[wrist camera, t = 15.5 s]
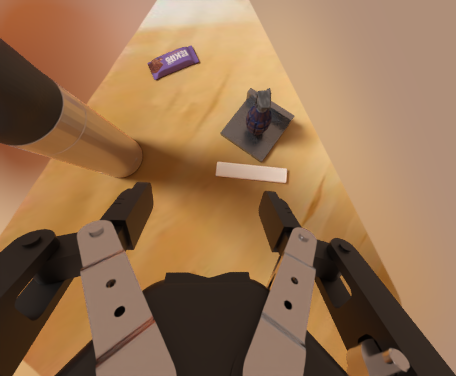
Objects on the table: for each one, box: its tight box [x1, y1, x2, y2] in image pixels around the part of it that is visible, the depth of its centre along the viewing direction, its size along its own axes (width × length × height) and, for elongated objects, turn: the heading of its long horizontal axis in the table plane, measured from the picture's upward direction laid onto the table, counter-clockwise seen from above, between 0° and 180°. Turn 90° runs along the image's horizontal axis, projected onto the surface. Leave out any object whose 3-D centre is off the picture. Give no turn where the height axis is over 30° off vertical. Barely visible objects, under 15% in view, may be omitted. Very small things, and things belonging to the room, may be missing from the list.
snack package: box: [147, 46, 199, 80], centre depth 39 cm, size 12×2×5 cm
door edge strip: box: [216, 162, 287, 183], centre depth 35 cm, size 15×3×1 cm, turn 84°
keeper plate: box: [221, 88, 294, 162], centre depth 35 cm, size 11×11×3 cm
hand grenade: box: [246, 88, 272, 135], centre depth 31 cm, size 6×5×10 cm
